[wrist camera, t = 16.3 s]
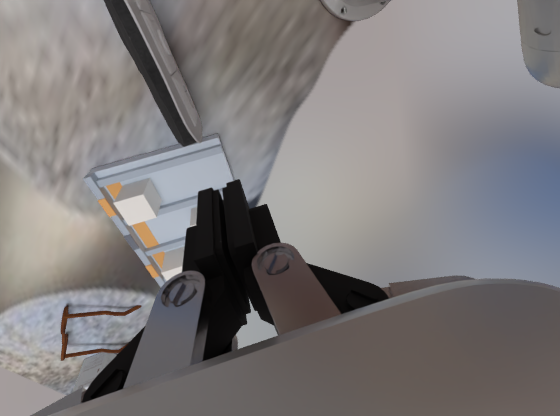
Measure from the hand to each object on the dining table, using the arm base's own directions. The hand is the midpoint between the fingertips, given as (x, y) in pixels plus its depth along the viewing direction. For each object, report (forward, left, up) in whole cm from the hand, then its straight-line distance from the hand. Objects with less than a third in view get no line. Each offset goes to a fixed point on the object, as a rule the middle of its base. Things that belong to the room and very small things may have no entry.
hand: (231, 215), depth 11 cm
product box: (+43, +49, -32) cm, 73 cm away
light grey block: (+15, +11, -30) cm, 35 cm away
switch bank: (+11, +18, -32) cm, 38 cm away
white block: (+15, +25, -30) cm, 42 cm away
